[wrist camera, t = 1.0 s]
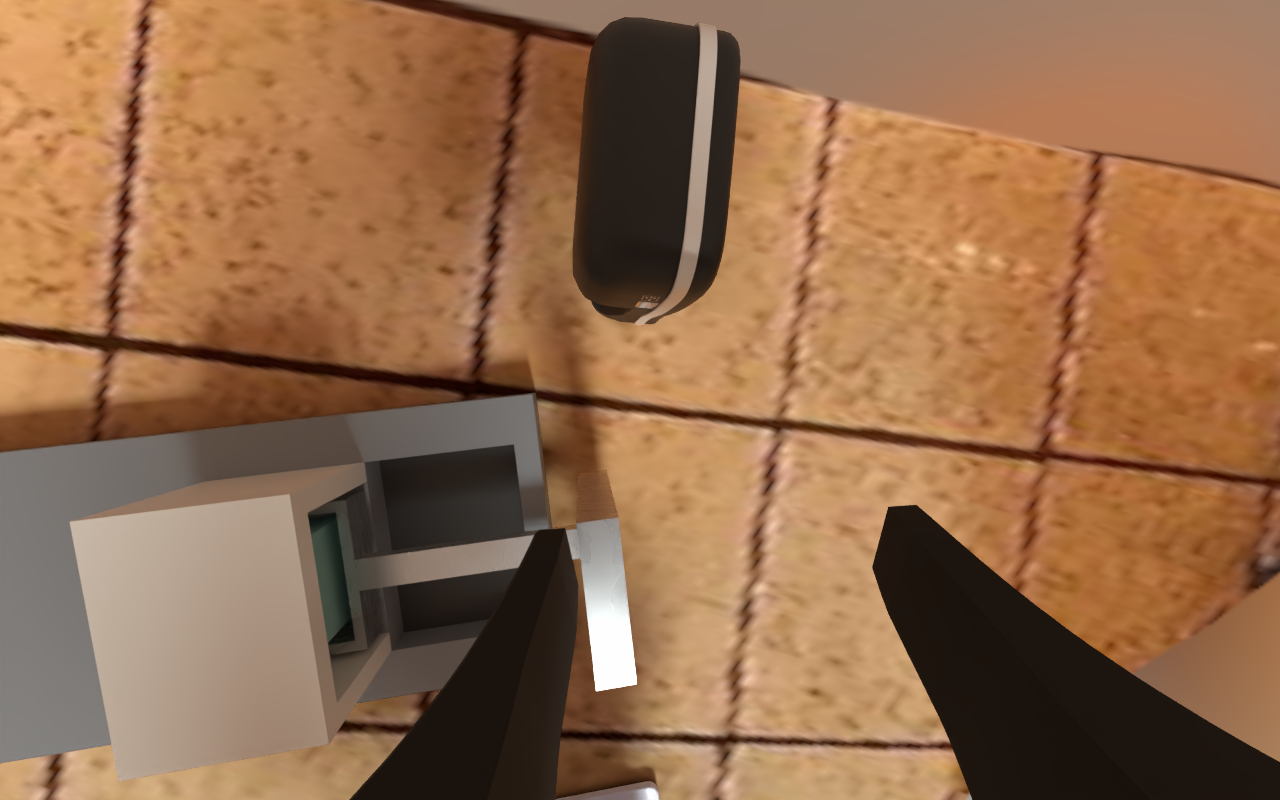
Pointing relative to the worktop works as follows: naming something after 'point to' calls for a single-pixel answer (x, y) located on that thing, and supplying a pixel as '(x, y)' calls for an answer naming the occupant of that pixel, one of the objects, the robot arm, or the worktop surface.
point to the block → (330, 573)
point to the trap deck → (395, 503)
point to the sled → (587, 541)
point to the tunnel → (217, 622)
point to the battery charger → (654, 166)
